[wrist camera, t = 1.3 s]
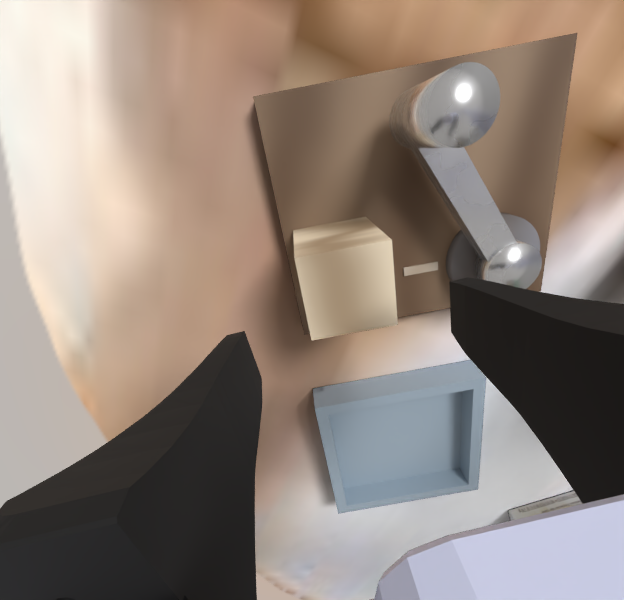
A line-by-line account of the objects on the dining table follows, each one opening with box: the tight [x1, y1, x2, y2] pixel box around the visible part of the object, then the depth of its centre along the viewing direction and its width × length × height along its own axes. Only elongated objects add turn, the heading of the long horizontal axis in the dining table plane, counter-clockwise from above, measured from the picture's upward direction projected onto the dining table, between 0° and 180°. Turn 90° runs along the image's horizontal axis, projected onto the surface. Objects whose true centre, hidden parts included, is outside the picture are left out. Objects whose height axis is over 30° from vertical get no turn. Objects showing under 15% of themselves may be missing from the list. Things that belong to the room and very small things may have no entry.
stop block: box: [293, 217, 398, 341], centre depth 16 cm, size 4×4×5 cm
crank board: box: [253, 33, 577, 335], centre depth 18 cm, size 15×13×2 cm
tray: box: [313, 360, 486, 514], centre depth 25 cm, size 12×12×2 cm
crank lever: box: [389, 62, 542, 289], centre depth 14 cm, size 12×3×5 cm, turn 40°
